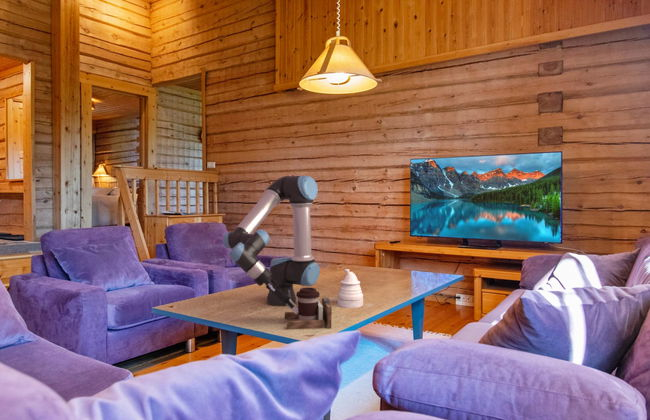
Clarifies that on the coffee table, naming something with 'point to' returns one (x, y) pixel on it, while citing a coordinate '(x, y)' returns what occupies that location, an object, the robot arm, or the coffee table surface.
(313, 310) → the coffee cup
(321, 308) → the catch plate
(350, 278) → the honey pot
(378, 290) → the coffee table surface
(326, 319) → the dock
